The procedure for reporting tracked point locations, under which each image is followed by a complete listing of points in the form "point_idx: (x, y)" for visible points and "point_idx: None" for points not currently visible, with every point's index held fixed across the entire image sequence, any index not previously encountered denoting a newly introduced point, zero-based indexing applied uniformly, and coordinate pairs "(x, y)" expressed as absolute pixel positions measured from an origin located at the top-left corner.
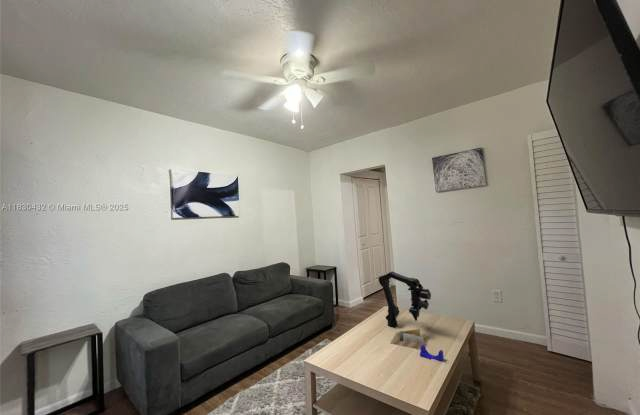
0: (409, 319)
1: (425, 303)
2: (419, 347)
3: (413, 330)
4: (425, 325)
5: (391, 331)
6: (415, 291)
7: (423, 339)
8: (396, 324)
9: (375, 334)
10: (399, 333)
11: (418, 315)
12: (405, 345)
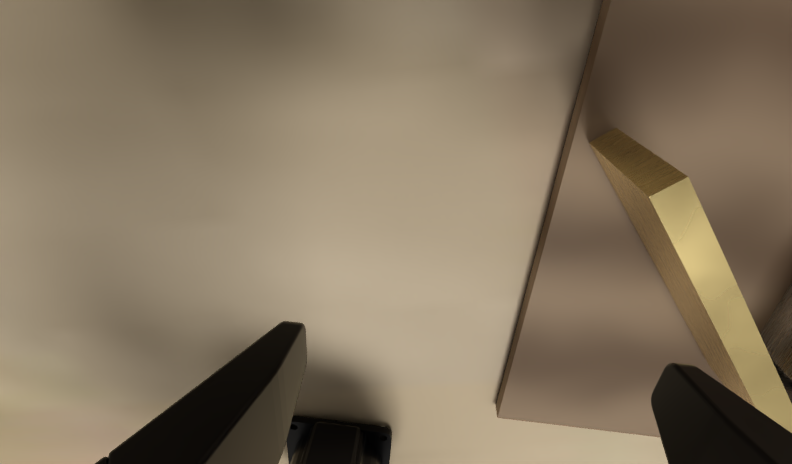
0: (25, 315)
1: None
2: None
3: (737, 295)
4: (62, 79)
5: (465, 451)
6: None
7: (719, 56)
8: (352, 460)
9: None
10: (536, 394)
11: (284, 373)
12: None
